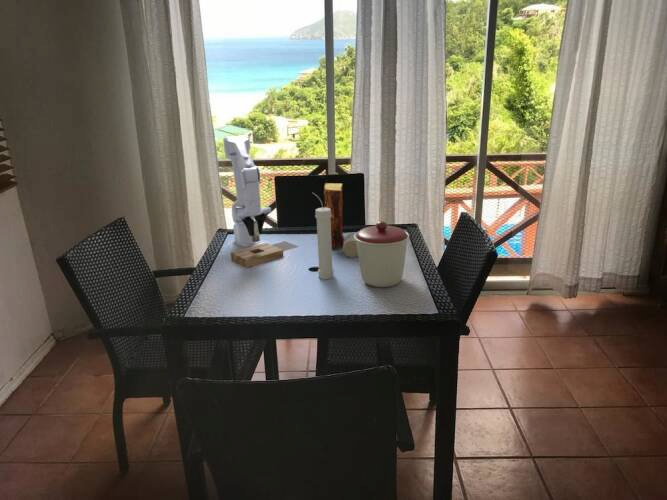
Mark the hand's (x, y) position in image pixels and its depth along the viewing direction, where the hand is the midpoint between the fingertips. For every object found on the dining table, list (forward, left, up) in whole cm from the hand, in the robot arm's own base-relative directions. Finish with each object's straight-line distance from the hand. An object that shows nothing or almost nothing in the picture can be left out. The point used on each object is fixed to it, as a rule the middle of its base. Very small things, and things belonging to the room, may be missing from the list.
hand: (255, 234), depth 210 cm
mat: (-4, +14, -10) cm, 17 cm away
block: (0, 0, -10) cm, 10 cm away
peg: (0, 0, -2) cm, 2 cm away
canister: (+50, +18, -10) cm, 54 cm away
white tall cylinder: (+33, +7, -10) cm, 35 cm away
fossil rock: (+7, +33, -10) cm, 35 cm away
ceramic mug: (+24, +30, -10) cm, 40 cm away
